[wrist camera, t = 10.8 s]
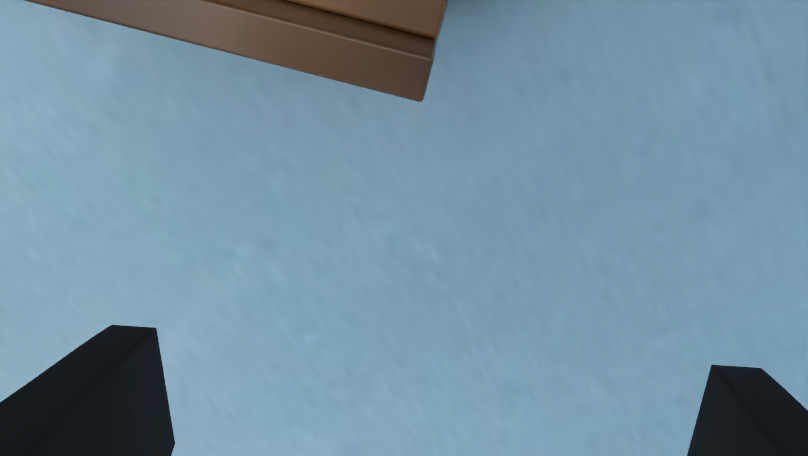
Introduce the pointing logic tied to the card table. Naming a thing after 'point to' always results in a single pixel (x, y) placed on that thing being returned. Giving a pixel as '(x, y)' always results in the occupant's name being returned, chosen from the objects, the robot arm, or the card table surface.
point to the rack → (297, 34)
